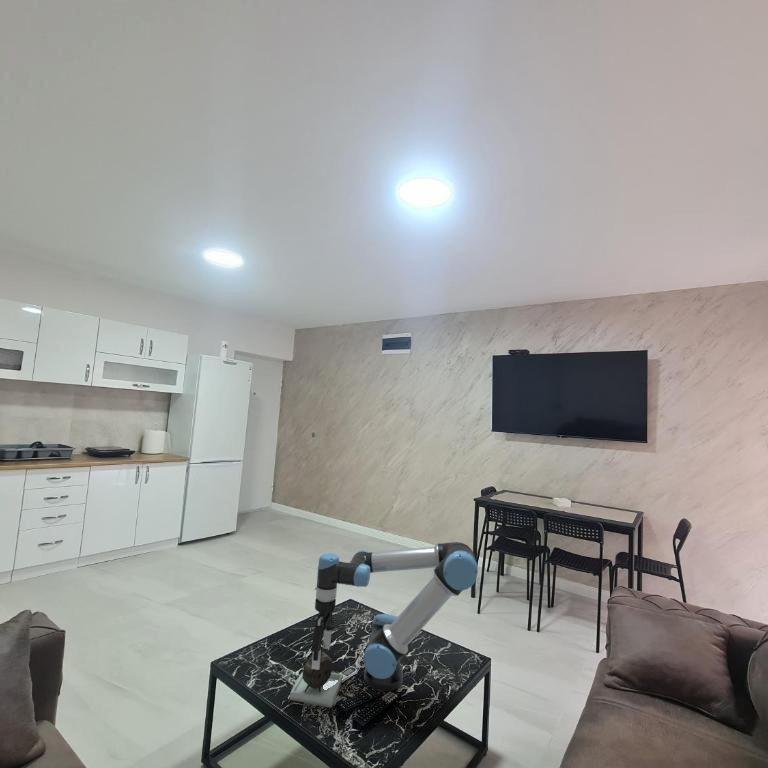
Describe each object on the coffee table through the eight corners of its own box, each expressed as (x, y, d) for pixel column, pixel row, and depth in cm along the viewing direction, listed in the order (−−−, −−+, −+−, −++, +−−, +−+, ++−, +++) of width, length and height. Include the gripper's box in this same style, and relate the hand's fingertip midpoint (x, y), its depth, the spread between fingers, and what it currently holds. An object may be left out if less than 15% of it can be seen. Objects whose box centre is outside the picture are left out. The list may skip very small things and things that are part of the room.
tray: (342, 681, 158) (343, 674, 158) (331, 707, 143) (332, 700, 143) (304, 674, 161) (304, 667, 161) (289, 699, 146) (290, 692, 146)
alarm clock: (324, 679, 157) (328, 635, 158) (333, 687, 153) (337, 641, 154) (300, 691, 149) (304, 643, 151) (308, 699, 145) (313, 650, 147)
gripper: (325, 584, 168) (321, 639, 166) (305, 611, 143) (299, 676, 141) (343, 586, 166) (339, 642, 165) (326, 614, 142) (320, 680, 140)
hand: (321, 658), depth 153 cm, fingers open, 13 cm apart
